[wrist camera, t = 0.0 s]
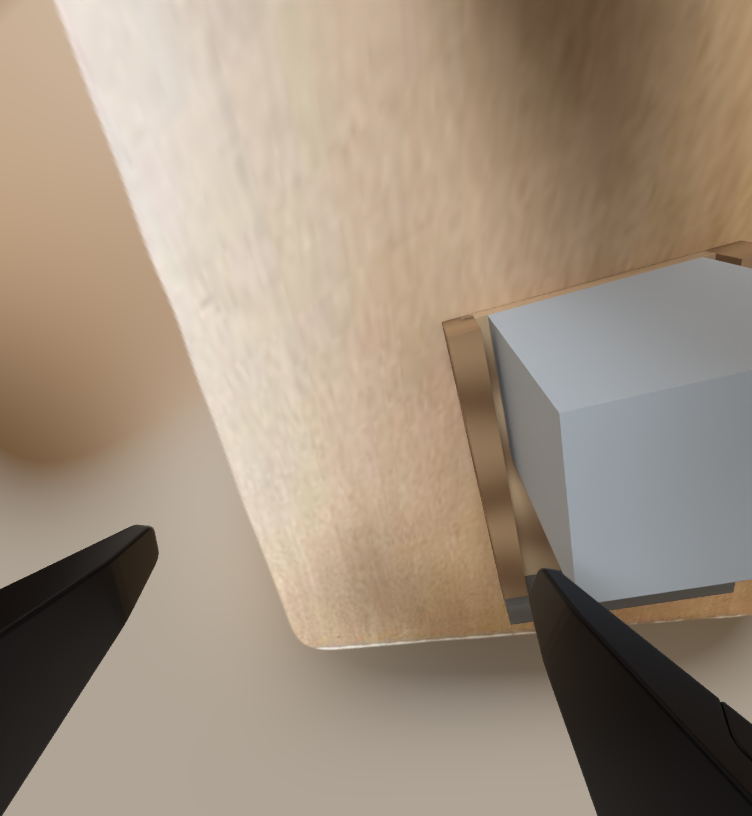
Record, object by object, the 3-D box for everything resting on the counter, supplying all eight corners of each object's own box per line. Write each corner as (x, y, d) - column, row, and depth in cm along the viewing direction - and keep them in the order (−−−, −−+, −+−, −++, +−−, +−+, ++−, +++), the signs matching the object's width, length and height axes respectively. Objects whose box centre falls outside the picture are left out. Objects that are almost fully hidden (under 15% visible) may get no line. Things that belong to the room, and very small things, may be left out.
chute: (441, 322, 22) (449, 341, 19) (741, 240, 19) (795, 250, 17) (501, 588, 32) (511, 624, 29) (702, 555, 29) (733, 592, 27)
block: (487, 314, 21) (559, 412, 12) (703, 256, 19) (969, 320, 10) (510, 455, 25) (577, 605, 16) (689, 417, 23) (872, 561, 14)
